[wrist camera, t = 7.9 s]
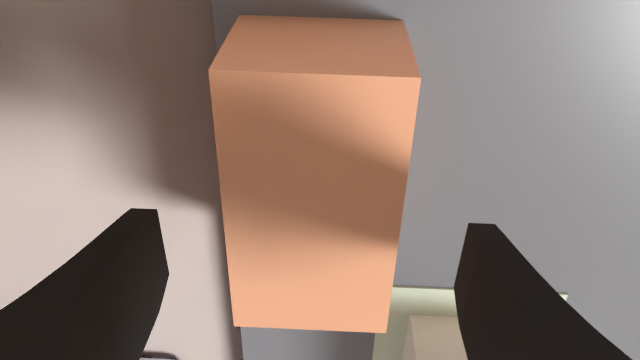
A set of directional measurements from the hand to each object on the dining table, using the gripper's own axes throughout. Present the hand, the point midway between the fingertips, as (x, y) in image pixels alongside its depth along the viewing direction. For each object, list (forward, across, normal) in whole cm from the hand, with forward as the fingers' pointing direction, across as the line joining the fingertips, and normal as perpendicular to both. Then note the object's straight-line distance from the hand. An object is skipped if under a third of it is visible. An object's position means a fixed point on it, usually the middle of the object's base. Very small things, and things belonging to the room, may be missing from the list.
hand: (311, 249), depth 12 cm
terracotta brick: (+5, 0, 0) cm, 5 cm away
